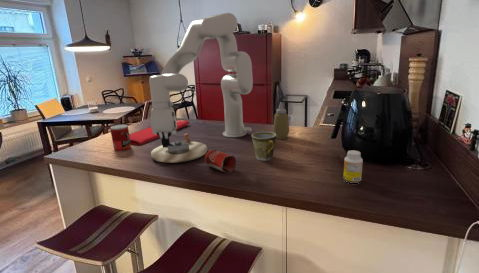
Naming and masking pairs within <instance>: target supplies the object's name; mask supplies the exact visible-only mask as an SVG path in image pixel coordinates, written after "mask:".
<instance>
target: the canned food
mask: <svg viewBox="0 0 479 273" xmlns="http://www.w3.org/2000/svg"><path fill="white" fill-rule="evenodd" d="M128 126H129V125H128V124H115V125H112V126H110V136H111V140H112V145H113V146H112V147H113V149H114V150H115V151H116V152H123V151H126V150H127V151H128V150H129V149H131V146H132V144H131V143H130V136H129V134H130V131H129V127H128Z"/></svg>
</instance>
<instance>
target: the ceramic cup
mask: <svg viewBox="0 0 479 273" xmlns="http://www.w3.org/2000/svg"><path fill="white" fill-rule="evenodd" d="M251 141H252V144H253V149H254V154H255V158H256V159H257V160H258V161H263V162H264V161H265V162H266V161H267V162H268V161H271V160H272V159H273V157H274V153H275V152H274V151H275V145H276V141H277V138H276V134H275V133H274V132H273V131H258V132H253V133H252V134H251Z"/></svg>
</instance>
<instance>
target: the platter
mask: <svg viewBox="0 0 479 273" xmlns="http://www.w3.org/2000/svg"><path fill="white" fill-rule="evenodd" d="M183 136H184V141H186V142H188V143H189V151H188V152H186V153H183V154H170V153H168V147H167V148H165V147H164V148H163V145H162V144H160V145H159V146H157V147H155V148H153V149H152V150H151V152H150V157H151V158H152V159H153V160H154V161H156V162H161V163H170V164H171V163H182V162H188V161H189V162H190V161H192V160H196V159H199V158H201V157H203V156H205V155H206V153H207V152H208V146H207V145H206V144H205V143H202V142H200V141H199V142H198V141H191V137H190V133H184V135H183Z"/></svg>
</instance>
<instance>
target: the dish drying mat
mask: <svg viewBox="0 0 479 273" xmlns="http://www.w3.org/2000/svg"><path fill="white" fill-rule="evenodd" d="M176 122H177V129H176V131H177V130H179V129H182V128H184V127H186V126H188V125H189V124H190V121H188V120H184V119H176ZM152 132H153V130H152V128H151V126H150V127H146V128H144V129H141V130H138V131H135V132H133V133H129V136H130V143H131V145H135V146H141V145H144V144H146V143H149V142H152V141H154V140H156V139H159V138H160V137H159V136H158V135H157V134H153V133H152ZM164 133H165V132H164Z"/></svg>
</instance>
